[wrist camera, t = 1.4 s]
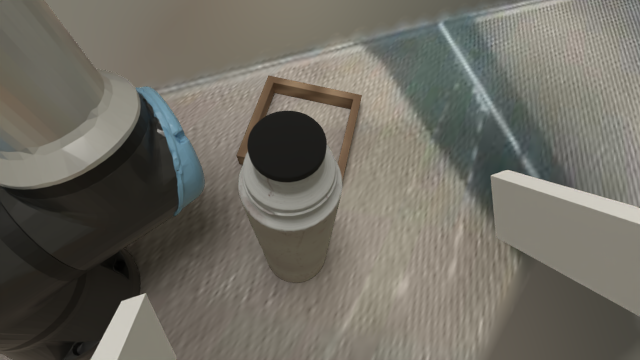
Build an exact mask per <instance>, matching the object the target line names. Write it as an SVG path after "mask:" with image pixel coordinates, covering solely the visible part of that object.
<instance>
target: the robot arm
mask: <svg viewBox="0 0 640 360" xmlns="http://www.w3.org/2000/svg"><path fill="white" fill-rule="evenodd" d="M204 184H205V179H204V174H203V170H202V167H201V165H200V162H199V160H198V157H197V155H196V153H195V151H194V149H193V147H192V145H191V143H190V141H189V140H188V138H187V137H186V136H185V135H184V131H183V129H182V127H181V125H180V123H179V121H178V120H177V118H176V117H175V115H174V113H173V112H172V110H171V109H170V108H169V106H168V105H167V103H166V102H165V101H164V100H163V98H162V97H161V96H160V95H159V94H158V93H157V92H156V91H155V90H154V89H152V88H150V87H141V88H135V87H134V86H133V85H132V83H131V82H130V81H129V80H127V79H126V78H125V77H123V76H121V75H119V74H117V73H114V72H111V71H106V70H100V69H96V68H95V67H94V65H93V64H92V63H91V61H90V60H89V59H88V57H87V56H86V55H85V53H84V52H83V51H82V49H81V48H80V47H79V45H78V44H77V43H76V41H75V40H74V39H73V37H72V36H71V35H70V33H69V32H68V31H67V29H66V28H65V27H64V26H63V24H62V23H61V22H60V20H59V19H58V17H57V16H56V15H55V14H54V12H53V11H52V9H51V8H50V7H49V5H48V4H47V3H46V1H45V0H0V353H1V354H3V355H5V356H7V357H9V358H10V359H12V360H88V359H90V358H91V360H176V358H177V357H176V355H175V353H174V351H173V349H172V347H171V345H170V343H169V341H168V338H167V336H166V334H165V332H164V330H163V328H162V326H161V324H160V322H159V320H158V317H157V315H156V313H155V311H154V309H153V307H152V305H151V303H150V301H149V299H148V296H147V294H146V293H144V294H142V295H139V291H140V278H139V272H138V268H137V266H136V263H135V261H134V260H133V258H132V257H131V255H130V254H129V253H128V252H127V251H126V250H125V249H124V248H125V247H126V246H128V245H130V244H131V243H133V242H134V241H136V240H137V239H139V238H140V237H142V236H143V235H145V234H147V233H148V232H150V231H151V230H153V229H154V228H156V227H157V226H159V225H161V224H162V223H164V222H165V221H167V220H168V219H170V218H171V217H173V216H176V215H178V214H179V213H180V211H181V210H182V209H183V208H184V207H185V206H187V205H188V204H189V203H191V202H192V201H193V200H195V199H196V198H197V197H198V196H199V195H200V194H201V193H202V191H203V188H204ZM491 185H492V197H493V208H494V220H495V231H496V237H497V238H499V239H501V240H502V241H504V242H506V243H508V244H510V245H511V246H513V247H515V248H517V249H519V250H520V251H522V252H524V253H526V254H528V255H529V256H531V257H533V258H535V259H537V260H539V261H540V262H542V263H544V264H546V265H548V266H549V267H551V268H553V269H555V270H557V271H559V272H561V273H562V274H564V275H566V276H568V277H569V278H571V279H573V280H575V281H577V282H578V283H580V284H582V285H584V286H586V287H587V288H589V289H591V290H593V291H595V292H596V293H598V294H600V295H602V296H604V297H606V298H608V299H609V300H611V301H613V302H615V303H616V304H618V305H620V306H622V307H624V308H625V309H627V310H629V311H631V312H633V313H635V314H636V315H638V316H640V207H636V206H632V205H628V204H625V203H621V202H618V201H614V200H611V199H607V198H604V197H600V196H597V195H593V194H590V193H586V192H583V191H579V190H576V189H572V188H569V187H565V186H562V185H558V184H555V183H551V182H548V181H544V180H541V179H537V178H534V177H530V176H527V175H523V174H520V173H516V172H513V171H509V170H505V171H502V172H500V173H497V174H494V175H491Z"/></svg>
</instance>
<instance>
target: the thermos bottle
mask: <svg viewBox="0 0 640 360" xmlns="http://www.w3.org/2000/svg"><path fill="white" fill-rule="evenodd" d="M247 148H248V152H247V154H246V156H245V159H244V162H243V166H242V169H241V172H240V175H239V181H238V189H239V196H240V199H241V202H242V204H243V207H244V209H245V211H246V214H247V216H248V218H249V221H250V223H251V225H252V227H253V230H254V232H255V234H256V237H257V239H258V241H259V244H260V246H261V248H262V249H263V252H264V255H265V257H266V260H267V262H268V264H269V266H270V268H271V270H272V271H273V272H274V274H275V275H276V276H278V277H279V278H281V279H282V280H285V281H287V282H292V283H300V282H304V281H307V280H309V279H311V278H313V277H314V276H315V275H316V274H317V273H318V272H319V271H320V270H321V268H322V266H323V264H324V261H325V258H326V254H327V250H328V246H329V242H330V238H331V234H332V230H333V226H334V222H335V218H336V214H337V209H338V205H339V201H340V197H341V192H342V175H341V171H340V168H339V166H338V164H337V162H336V160H335V159H334V156H333V154H332V152H331V150H330V148H329V147H328V146H327V141H326V137H325V133H324V131H323V129H322V127H321V126H320V125H319V124H318V123H317V122H316V121H315V120H314V119H313V118H311V117H309V116H308V115H306V114H303V113H300V112H295V111H280V112H276V113H272V114H270V115H268V116H266V117H264V118H262V119H261V120H260V121H258V122H257V123H256V125H255V126H254V127H253V128H252V130H251V132H250V134H249V137H248V143H247Z"/></svg>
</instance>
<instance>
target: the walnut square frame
mask: <svg viewBox="0 0 640 360" xmlns="http://www.w3.org/2000/svg"><path fill="white" fill-rule="evenodd" d="M274 93H278V94H283V95H288V96H292V97H297V98H302V99H306V100H311V101H316V102H320V103H325V104H330V105H334V106H339V107H344V108H348V109H351V111H350V115H349V120H348V124H347V128H346V132H345V136H344V140H343V144H342V149H341V153H340V157H339V161H338V166H339V168H340V171H341V175H342V181H343V176H344V172H345V167H346V163H347V159H348V154H349V150H350V145H351V141H352V137H353V132H354V128H355V123H356V119H357V115H358V110H359V106H360V101H361V97H362V95H358V94H353V93H348V92H344V91H339V90H334V89H330V88H325V87H320V86H315V85H311V84H306V83H301V82H296V81H292V80H287V79H282V78H277V77H273V76H268V78H267V81H266V83H265V86H264V88H263V91H262V93H261V96H260V98H259V101H258V103H257V106H256V108H255V111H254V113H253V116H252V118H251V121H250V123H249V126H248V128H247V131H246V133H245V136H244V138H243V141H242V143H241V146H240V148H239V151H238V153H237V158H238V161H239V164H243V162H244V159H245V156H246V154H247V152H248V148H247V143H248V137H249V134H250V132H251V130H252V128H253V127H254V126H255V125H256V123H257V122H258V121H260V120H261V119H262V118H264V117H266V114H267V111H268V109H269V106H270V103H271V101H272V98H273V96H274Z"/></svg>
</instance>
